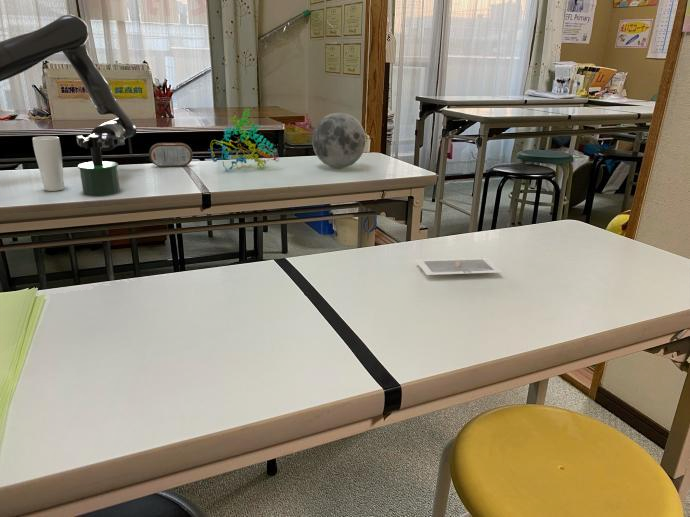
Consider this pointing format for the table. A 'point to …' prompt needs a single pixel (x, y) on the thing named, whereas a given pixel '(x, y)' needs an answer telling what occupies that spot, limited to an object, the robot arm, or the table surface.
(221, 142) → the molecular model
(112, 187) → the can
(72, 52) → the robot arm
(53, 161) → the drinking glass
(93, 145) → the tin lid
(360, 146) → the moon model
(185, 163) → the tin
